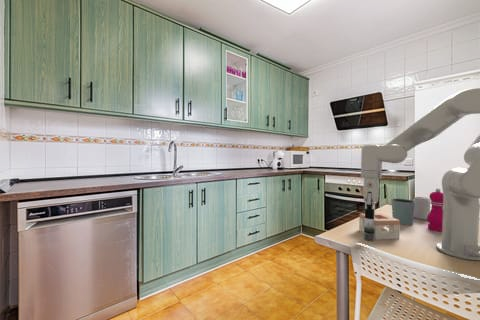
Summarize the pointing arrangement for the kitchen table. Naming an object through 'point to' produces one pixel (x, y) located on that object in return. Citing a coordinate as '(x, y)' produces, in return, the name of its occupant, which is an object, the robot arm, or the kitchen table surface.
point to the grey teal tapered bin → (403, 210)
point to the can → (421, 208)
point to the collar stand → (382, 226)
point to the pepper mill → (436, 211)
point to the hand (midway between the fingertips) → (369, 217)
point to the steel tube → (369, 227)
